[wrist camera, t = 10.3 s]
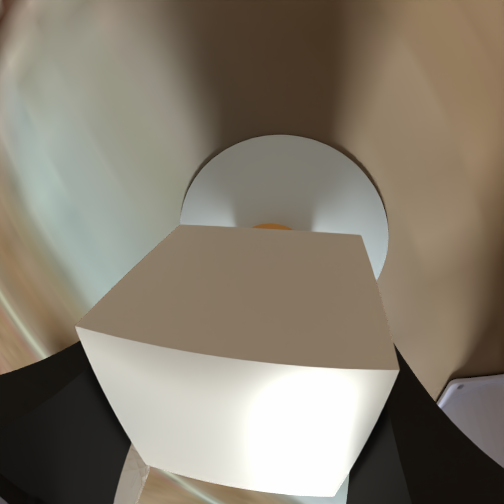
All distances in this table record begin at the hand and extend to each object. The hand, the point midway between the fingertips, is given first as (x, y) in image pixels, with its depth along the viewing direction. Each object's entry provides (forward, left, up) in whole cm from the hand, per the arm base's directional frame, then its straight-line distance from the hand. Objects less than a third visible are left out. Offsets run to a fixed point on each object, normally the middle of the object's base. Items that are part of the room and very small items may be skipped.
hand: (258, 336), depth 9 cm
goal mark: (0, 0, -6) cm, 6 cm away
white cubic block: (0, 0, -2) cm, 2 cm away
